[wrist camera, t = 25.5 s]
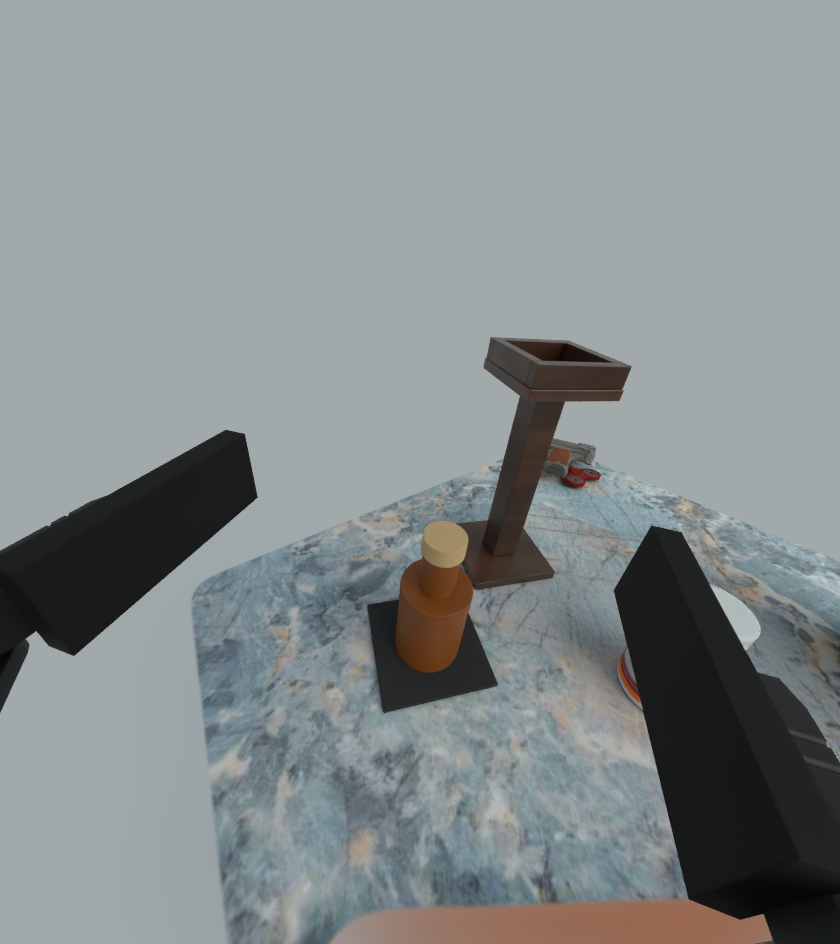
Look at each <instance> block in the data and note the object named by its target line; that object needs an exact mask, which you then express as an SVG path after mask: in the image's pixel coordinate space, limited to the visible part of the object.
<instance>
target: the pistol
mask: <svg viewBox="0 0 840 944" xmlns="http://www.w3.org/2000/svg"><path fill="white" fill-rule="evenodd" d="M595 451H596V448H595V446H590V445H587V444H582V443H579V444H575V443H571V442H567V441H563V440H558V439H554V438H553V439H552V442H551V445H550V448H549V451H548V454H547V457H546V459H547V461H545V463H544V470H545V472H547V473H550V474H553V475H556V476H559V477H560V476H561V477H562V478H564V477H566V475H567V472H568V465H569V463H571V462H573V461H581V462H585V464H587V465H591V461H593V460H594V457H595ZM589 461H590V464H589V463H587V462H589Z"/></svg>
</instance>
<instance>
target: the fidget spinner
mask: <svg viewBox="0 0 840 944" xmlns="http://www.w3.org/2000/svg"><path fill="white" fill-rule="evenodd" d="M600 476H601V475H600V473H599V472H597V471H595V470H593V469H587V468H586V469H577V468H573V467H571V466H570V465H568V472H567V476H566V477H565V482H566V483H567V484H568V485H570V486H573V487H583V486H584V484H585V480H584V479H590V480H598V479H599V478H600Z"/></svg>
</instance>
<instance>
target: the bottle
mask: <svg viewBox="0 0 840 944" xmlns="http://www.w3.org/2000/svg"><path fill="white" fill-rule="evenodd" d="M467 545H468V535H467V533H466V532H465V530H464V529H463V528H462V527H460V526H459V525H457V524H455V523H452V522H448V521H437V522H433V523H431V524H429V525H428V526H427V527H426V528H425V529H424V531H423V537H422V544H421V552H422V555H423V556H422V559H421V560H418V561H416V562H414V563H412V564H411V565H410V566H409V567H408V568H407V569H406V570H405V571H404V573H403V575H402V578H401V584H400V595H399V605H398V616H397V626H396V637H395V643H396V648H397V651H398V654H399V656H400V657H401V659H402V660H403V661H404V662H405V663H406V664H407V665H408V666H410V667H411V668H413V669H415V670H417V671H420V672H425V673H434V672H438V671H441V670H443V669H445V668H447V667H448V666H449V665H450V664H451V663H452V662H453V661H454V659H455V658H456V656H457V653H458V649H459V645H460V642H461V638H462V634H463V630H464V627H465V623H466V619H467V615H468V612H469V608H470V604H471V600H472V596H473V586H472V582H471V580H470V578H469V576H468V575H467V573H466V572H465V571H464V570H463V569H462V568H461V567H460V564H461V562H462V561H463V560H464V558H465V554H466V550H467Z"/></svg>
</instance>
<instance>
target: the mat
mask: <svg viewBox="0 0 840 944" xmlns="http://www.w3.org/2000/svg"><path fill="white" fill-rule="evenodd" d="M398 605H399V600H395V601H388V602H382V603H376V604H369V605H368V613H369V619H370V626H371V633H372V639H373V646H374V652H375V659H376V666H377V672H378V679H379V685H380V692H381V699H382V705H383V712H384V713H385V712H389V711H394V710H398V709H402V708H406V707H410V706H415V705H419V704H423V703H427V702H431V701H436V700H440V699H444V698H448V697H452V696H457V695H461V694H465V693H469V692H473V691H478V690H482V689H486V688H490V687H494V686H497V684H498V683H497V681H496V678H495V676H494V674H493V671H492V669H491V666H490V664H489V662H488V659H487V657H486V654H485V652H484V650H483V647H482V645H481V642H480V640H479V638H478V635H477V633H476V630H475V628H474V626H473V623H472V621H471V618H470V616H469V614H468V615H467V619H466V623H465V627H464V630H463V634H462V638H461V642H460V645H459V649H458V653H457V656H456V658H455V659H454V661H453V662H452V663H451V664H450V665H449V666H448V667H447V668H445V669H443V670H441V671H438V672H434V673H425V672H420V671H417V670H415V669H413V668H411V667H410V666H408V665H407V664H406V663H405V662H404V661H403V660H402V659H401V657H400V656H399V654H398V651H397V648H396V643H395V637H396V626H397V616H398Z"/></svg>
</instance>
